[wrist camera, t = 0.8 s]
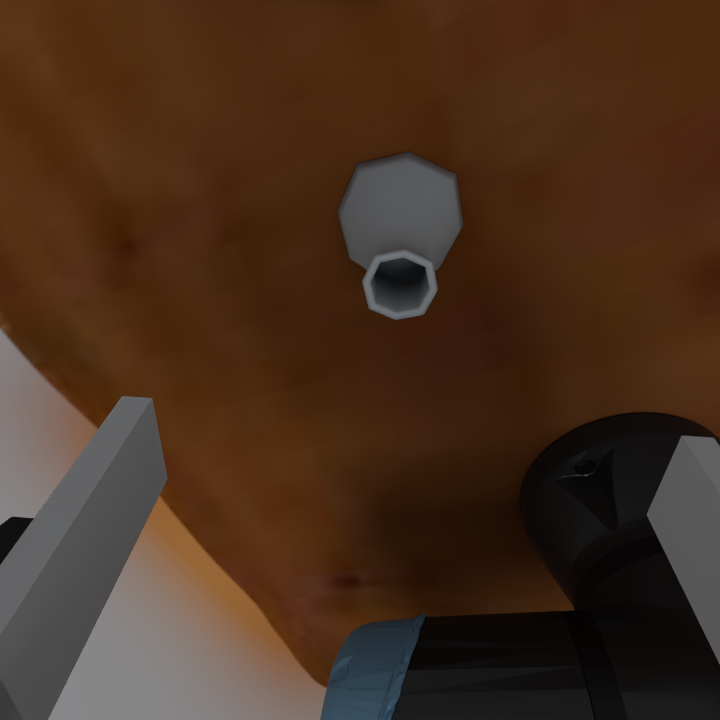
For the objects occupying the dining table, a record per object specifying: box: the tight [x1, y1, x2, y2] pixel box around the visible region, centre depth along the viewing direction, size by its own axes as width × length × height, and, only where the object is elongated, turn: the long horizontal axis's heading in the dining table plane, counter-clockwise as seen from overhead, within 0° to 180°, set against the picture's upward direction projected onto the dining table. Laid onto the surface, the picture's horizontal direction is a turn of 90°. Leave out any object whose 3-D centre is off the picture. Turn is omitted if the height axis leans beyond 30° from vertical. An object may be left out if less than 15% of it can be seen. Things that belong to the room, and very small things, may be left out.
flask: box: [337, 152, 463, 320], centre depth 28 cm, size 7×7×10 cm
